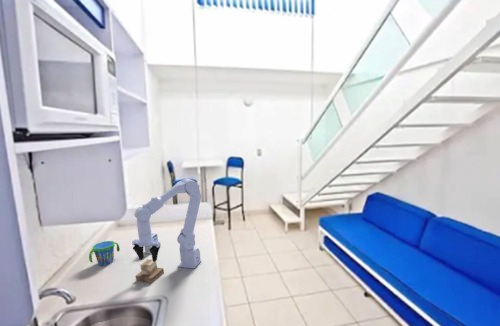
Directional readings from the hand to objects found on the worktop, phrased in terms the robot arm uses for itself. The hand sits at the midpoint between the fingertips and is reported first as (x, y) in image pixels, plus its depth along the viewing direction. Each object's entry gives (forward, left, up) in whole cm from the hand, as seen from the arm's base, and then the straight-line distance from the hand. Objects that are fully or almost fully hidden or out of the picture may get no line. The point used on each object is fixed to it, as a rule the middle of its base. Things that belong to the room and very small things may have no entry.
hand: (148, 259), depth 136 cm
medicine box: (+18, -25, -9) cm, 32 cm away
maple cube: (0, 0, -6) cm, 6 cm away
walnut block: (0, 0, -9) cm, 9 cm away
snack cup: (+34, -7, -9) cm, 36 cm away
